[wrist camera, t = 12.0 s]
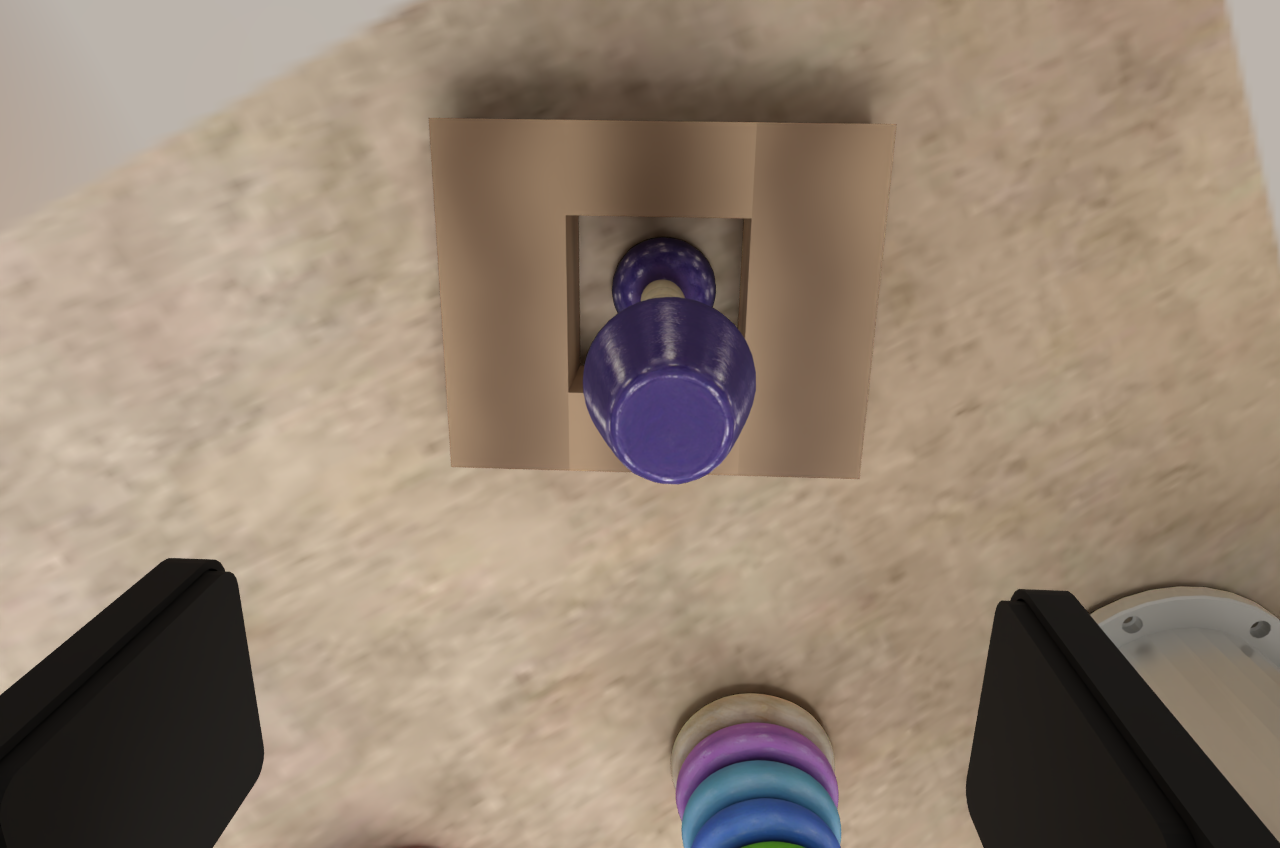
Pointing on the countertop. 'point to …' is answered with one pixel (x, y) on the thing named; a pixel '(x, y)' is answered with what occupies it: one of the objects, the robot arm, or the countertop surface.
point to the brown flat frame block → (658, 187)
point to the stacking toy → (755, 776)
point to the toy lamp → (668, 367)
